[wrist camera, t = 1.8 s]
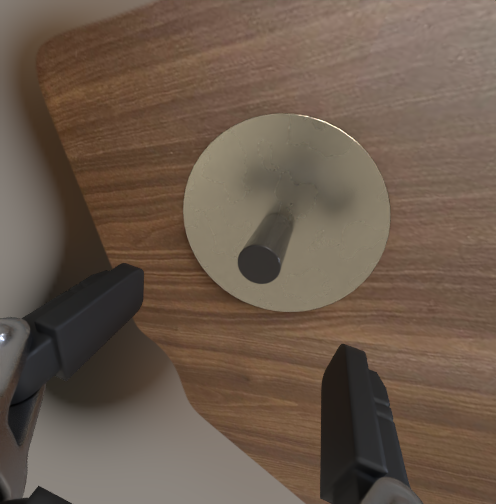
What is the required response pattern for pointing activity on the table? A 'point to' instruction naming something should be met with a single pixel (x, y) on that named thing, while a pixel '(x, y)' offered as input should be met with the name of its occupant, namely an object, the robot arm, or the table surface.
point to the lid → (286, 212)
